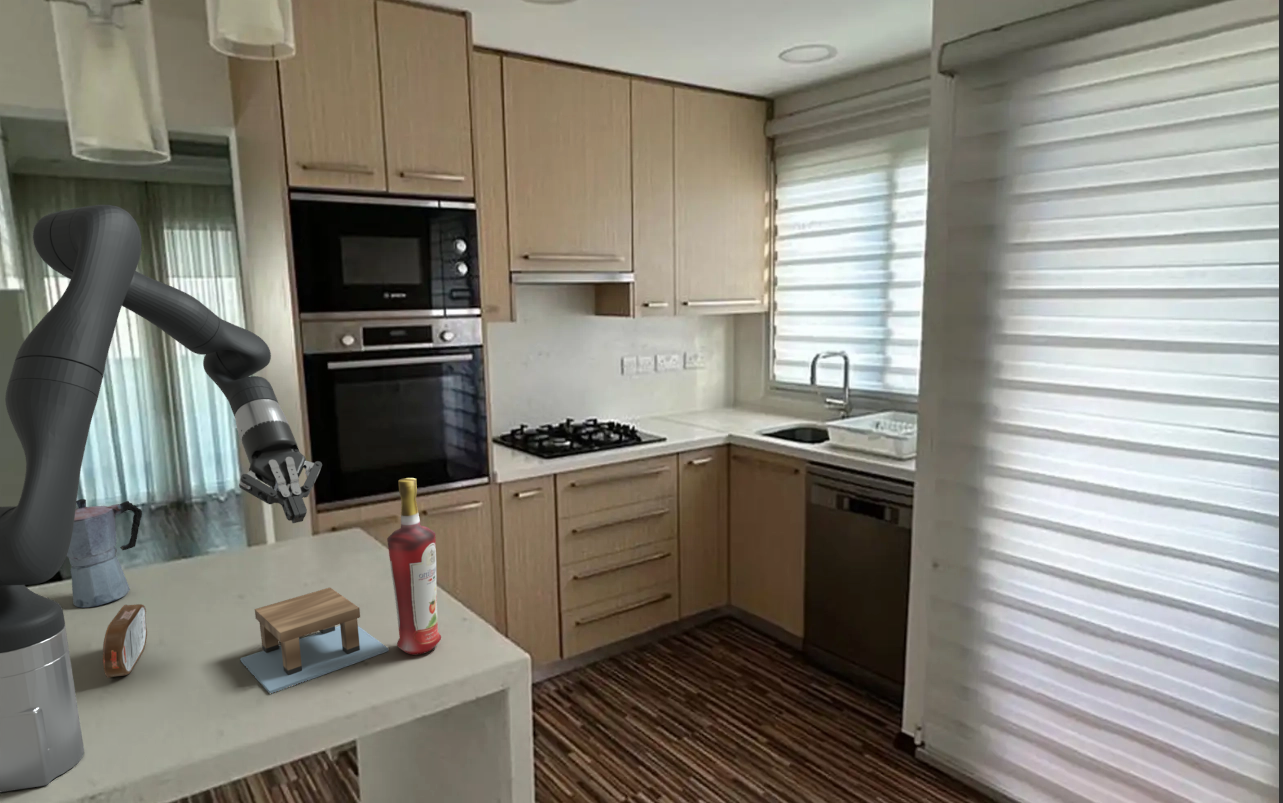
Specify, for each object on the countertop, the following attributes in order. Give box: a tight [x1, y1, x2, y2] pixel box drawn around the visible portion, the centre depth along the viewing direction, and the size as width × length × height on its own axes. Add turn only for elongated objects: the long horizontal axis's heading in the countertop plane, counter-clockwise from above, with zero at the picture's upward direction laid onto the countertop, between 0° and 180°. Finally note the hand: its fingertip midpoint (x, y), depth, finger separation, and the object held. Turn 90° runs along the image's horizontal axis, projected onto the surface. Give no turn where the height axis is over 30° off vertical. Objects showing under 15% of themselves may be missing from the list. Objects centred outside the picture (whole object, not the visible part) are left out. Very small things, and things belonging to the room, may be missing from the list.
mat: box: [240, 625, 389, 694], centre depth 120 cm, size 14×18×1 cm
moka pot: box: [66, 498, 143, 609], centre depth 144 cm, size 10×15×20 cm, turn 132°
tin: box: [102, 603, 148, 679], centre depth 119 cm, size 15×3×8 cm, turn 21°
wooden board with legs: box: [254, 587, 361, 675], centre depth 121 cm, size 7×12×12 cm
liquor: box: [386, 477, 442, 656], centre depth 120 cm, size 7×7×28 cm
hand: (299, 519), depth 118 cm, fingers closed
